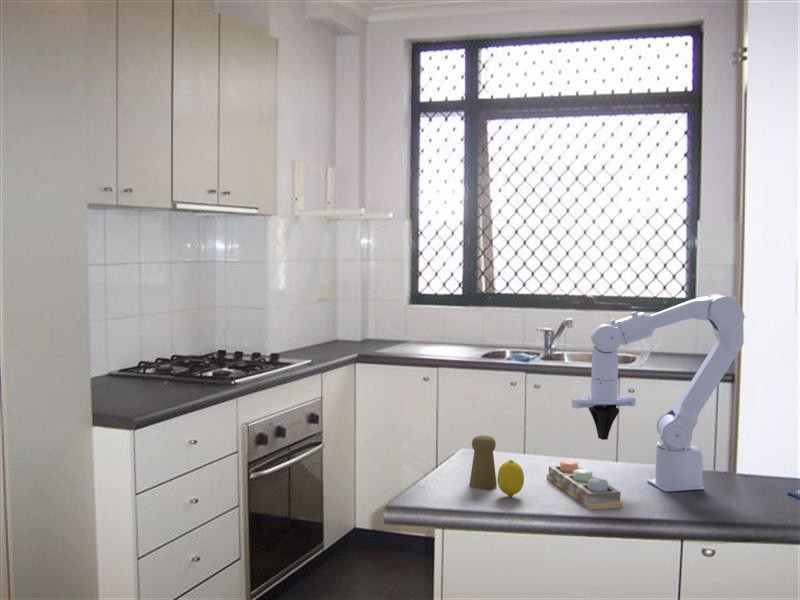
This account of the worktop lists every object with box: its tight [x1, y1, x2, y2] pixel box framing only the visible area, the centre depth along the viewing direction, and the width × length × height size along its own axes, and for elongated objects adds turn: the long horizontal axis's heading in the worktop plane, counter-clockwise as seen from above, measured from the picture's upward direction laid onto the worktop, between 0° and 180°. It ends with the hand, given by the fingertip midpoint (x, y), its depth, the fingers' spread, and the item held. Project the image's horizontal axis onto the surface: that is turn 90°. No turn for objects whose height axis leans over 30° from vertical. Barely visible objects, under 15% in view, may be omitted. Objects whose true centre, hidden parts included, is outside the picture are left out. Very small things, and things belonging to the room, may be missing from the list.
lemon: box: [497, 459, 525, 498], centre depth 176 cm, size 6×6×8 cm
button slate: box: [588, 478, 609, 492], centre depth 173 cm, size 4×4×3 cm
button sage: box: [573, 468, 593, 482], centre depth 180 cm, size 4×4×3 cm
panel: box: [546, 464, 624, 511], centre depth 180 cm, size 22×7×3 cm, turn 13°
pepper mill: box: [468, 435, 498, 490], centre depth 184 cm, size 6×6×11 cm
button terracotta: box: [559, 460, 579, 473], centre depth 187 cm, size 4×4×3 cm
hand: (602, 438), depth 187 cm, fingers closed
